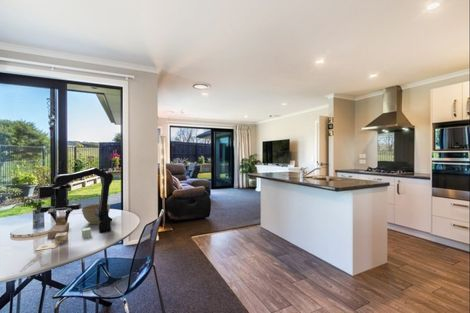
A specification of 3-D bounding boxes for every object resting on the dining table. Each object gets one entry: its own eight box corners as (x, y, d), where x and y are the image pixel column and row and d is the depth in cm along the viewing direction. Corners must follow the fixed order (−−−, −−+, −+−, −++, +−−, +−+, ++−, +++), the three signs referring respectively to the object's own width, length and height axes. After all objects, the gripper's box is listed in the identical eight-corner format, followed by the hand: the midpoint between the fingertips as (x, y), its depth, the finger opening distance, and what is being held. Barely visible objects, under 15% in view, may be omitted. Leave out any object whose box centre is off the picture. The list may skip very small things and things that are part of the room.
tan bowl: (115, 219, 178) (115, 204, 177) (99, 227, 160) (99, 210, 159) (93, 218, 180) (93, 203, 179) (75, 226, 162) (75, 209, 161)
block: (90, 234, 146) (89, 227, 146) (91, 236, 143) (90, 229, 143) (81, 235, 144) (81, 229, 144) (82, 238, 140) (82, 231, 140)
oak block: (67, 239, 138) (67, 232, 138) (65, 242, 134) (65, 235, 133) (57, 240, 136) (57, 233, 136) (55, 243, 131) (54, 236, 131)
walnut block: (66, 222, 137) (66, 215, 137) (64, 224, 133) (64, 217, 133) (57, 223, 135) (57, 216, 135) (55, 225, 131) (55, 218, 131)
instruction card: (59, 243, 132) (59, 242, 132) (55, 247, 126) (55, 247, 126) (39, 245, 128) (39, 245, 128) (35, 250, 122) (35, 250, 122)
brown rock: (63, 237, 142) (63, 229, 142) (46, 239, 139) (46, 231, 139) (69, 228, 157) (69, 222, 157) (54, 230, 154) (54, 223, 153)
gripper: (82, 192, 145) (82, 216, 146) (45, 194, 137) (46, 220, 138) (78, 195, 135) (79, 221, 135) (39, 198, 127) (39, 225, 128)
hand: (61, 222), depth 134 cm, fingers closed on walnut block, 4 cm apart
